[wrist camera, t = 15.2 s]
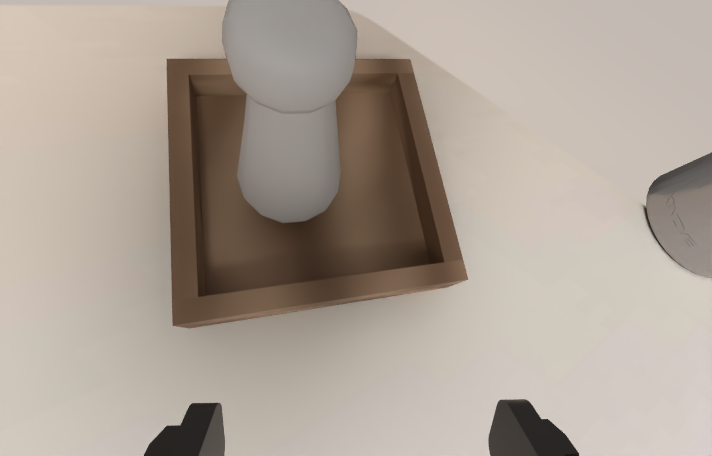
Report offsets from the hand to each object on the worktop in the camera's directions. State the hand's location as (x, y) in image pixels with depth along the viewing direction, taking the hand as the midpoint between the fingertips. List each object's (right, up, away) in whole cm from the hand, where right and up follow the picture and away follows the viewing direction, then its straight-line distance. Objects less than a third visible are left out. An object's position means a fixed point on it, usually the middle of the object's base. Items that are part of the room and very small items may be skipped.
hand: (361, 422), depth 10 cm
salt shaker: (-4, +8, +13) cm, 15 cm away
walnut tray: (-3, +8, +14) cm, 16 cm away
